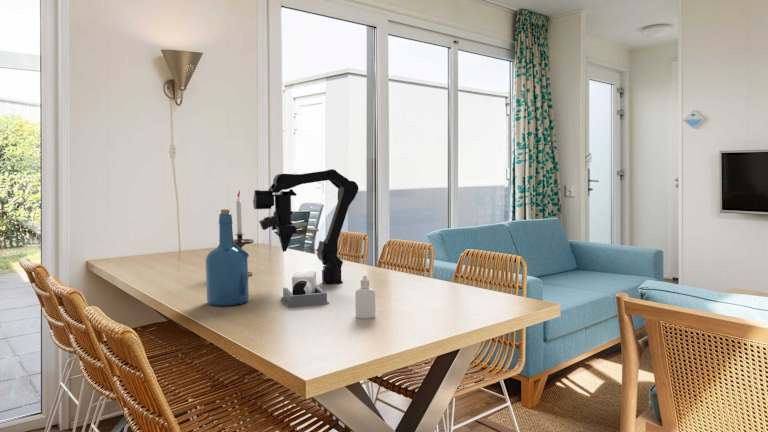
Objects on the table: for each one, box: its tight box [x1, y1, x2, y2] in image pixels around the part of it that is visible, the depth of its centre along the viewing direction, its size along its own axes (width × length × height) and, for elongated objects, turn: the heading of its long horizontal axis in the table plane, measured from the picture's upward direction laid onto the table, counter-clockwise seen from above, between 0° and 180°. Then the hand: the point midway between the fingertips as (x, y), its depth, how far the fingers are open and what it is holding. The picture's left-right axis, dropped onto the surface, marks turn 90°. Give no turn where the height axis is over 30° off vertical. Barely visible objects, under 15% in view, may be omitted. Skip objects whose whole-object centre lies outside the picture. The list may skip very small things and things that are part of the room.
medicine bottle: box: [291, 270, 317, 295], centre depth 182 cm, size 7×7×12 cm
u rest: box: [281, 284, 330, 308], centre depth 179 cm, size 14×13×3 cm
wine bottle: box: [205, 208, 250, 307], centre depth 178 cm, size 14×13×30 cm
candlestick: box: [233, 189, 254, 278], centre depth 226 cm, size 11×11×35 cm
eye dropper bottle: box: [354, 274, 376, 320], centre depth 157 cm, size 4×6×12 cm
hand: (284, 251), depth 202 cm, fingers closed
